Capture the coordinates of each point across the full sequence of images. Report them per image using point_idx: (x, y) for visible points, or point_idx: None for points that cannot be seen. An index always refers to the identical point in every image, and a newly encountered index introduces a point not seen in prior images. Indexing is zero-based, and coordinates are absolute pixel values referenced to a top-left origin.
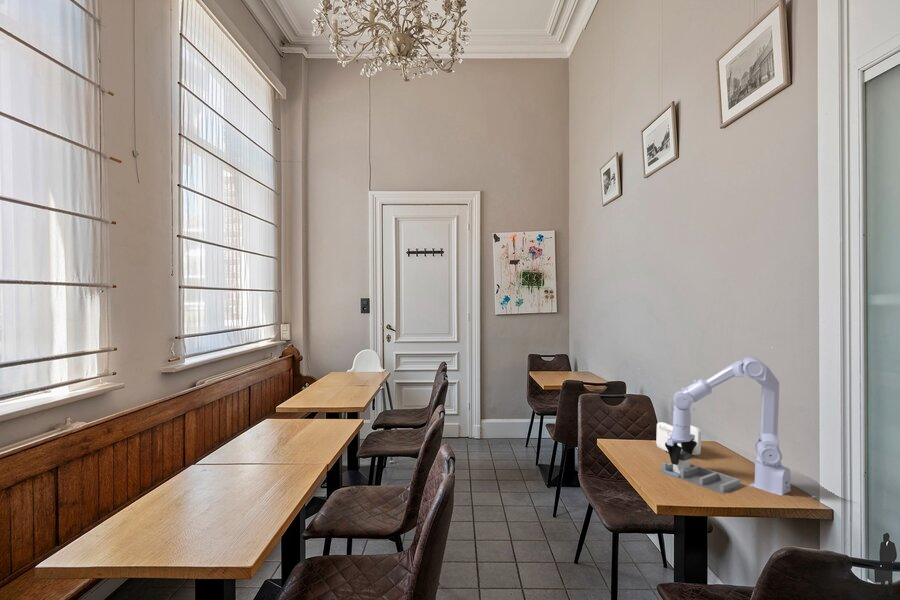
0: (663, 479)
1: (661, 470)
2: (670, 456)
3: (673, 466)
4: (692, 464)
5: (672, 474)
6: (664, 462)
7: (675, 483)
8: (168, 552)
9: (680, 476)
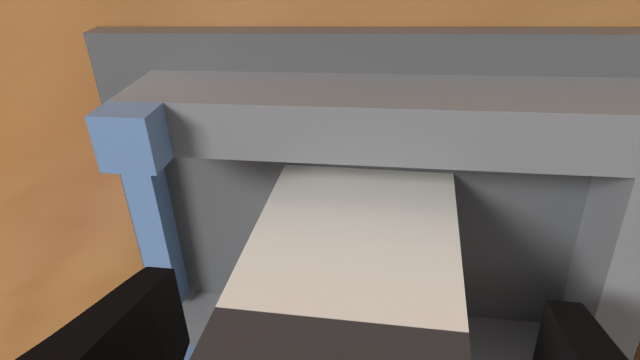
0: (8, 196)
1: (145, 62)
2: (46, 353)
3: (269, 206)
4: (619, 342)
5: (143, 236)
6: (142, 124)
7: (58, 301)
8: None
9: (194, 301)
